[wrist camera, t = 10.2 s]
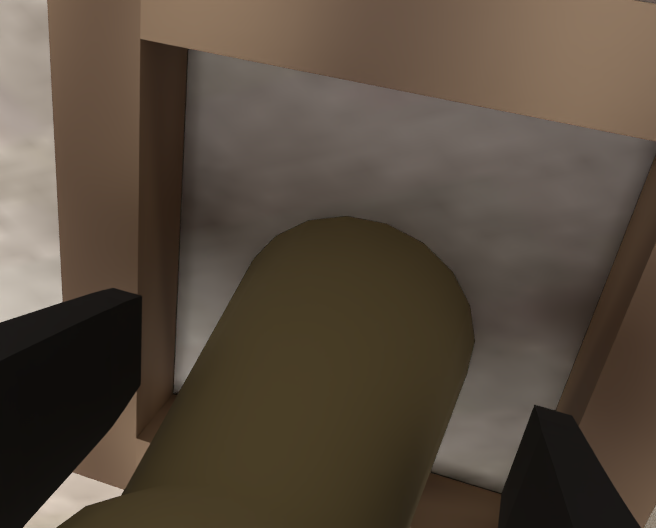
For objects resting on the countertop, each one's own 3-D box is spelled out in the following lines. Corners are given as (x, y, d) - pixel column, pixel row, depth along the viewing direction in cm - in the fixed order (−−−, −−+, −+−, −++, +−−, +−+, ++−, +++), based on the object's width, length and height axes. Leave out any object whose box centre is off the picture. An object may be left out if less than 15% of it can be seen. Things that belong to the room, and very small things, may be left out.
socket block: (835, 33, 11) (898, 42, 9) (574, 575, 17) (581, 645, 15) (105, -86, 13) (42, -96, 11) (111, 427, 19) (71, 471, 18)
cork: (431, 185, 14) (232, 684, 4) (503, 412, 15) (488, 1135, 6) (202, 250, 16) (-285, 670, 6) (289, 441, 18) (18, 998, 8)
